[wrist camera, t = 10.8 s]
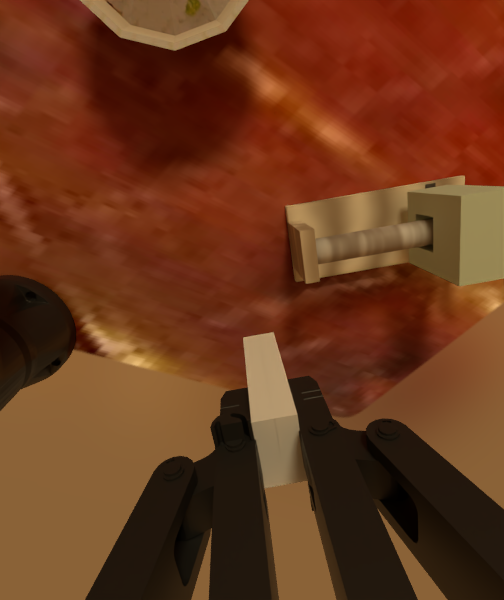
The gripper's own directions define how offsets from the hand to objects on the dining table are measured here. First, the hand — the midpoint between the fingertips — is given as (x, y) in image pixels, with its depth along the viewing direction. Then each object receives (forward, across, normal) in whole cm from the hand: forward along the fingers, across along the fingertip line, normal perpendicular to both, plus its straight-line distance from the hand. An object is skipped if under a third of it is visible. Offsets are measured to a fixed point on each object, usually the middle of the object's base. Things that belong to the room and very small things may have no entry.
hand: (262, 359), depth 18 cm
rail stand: (+32, +18, -1) cm, 37 cm away
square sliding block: (+29, +24, -1) cm, 38 cm away
